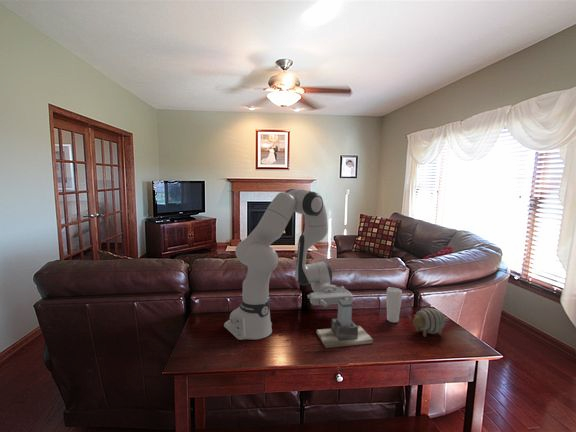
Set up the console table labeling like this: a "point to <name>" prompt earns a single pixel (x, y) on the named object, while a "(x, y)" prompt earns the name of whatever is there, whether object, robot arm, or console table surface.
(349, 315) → the grey tall block
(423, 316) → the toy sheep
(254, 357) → the console table surface
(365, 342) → the post socket
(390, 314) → the drinking glass
